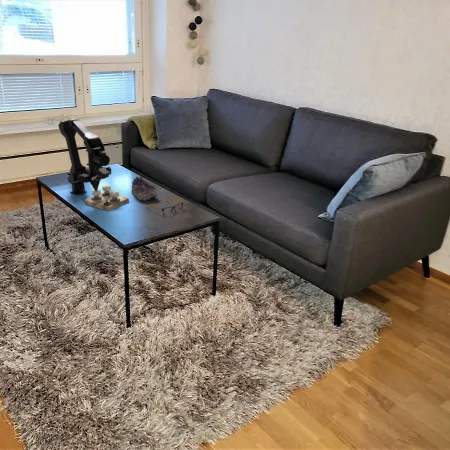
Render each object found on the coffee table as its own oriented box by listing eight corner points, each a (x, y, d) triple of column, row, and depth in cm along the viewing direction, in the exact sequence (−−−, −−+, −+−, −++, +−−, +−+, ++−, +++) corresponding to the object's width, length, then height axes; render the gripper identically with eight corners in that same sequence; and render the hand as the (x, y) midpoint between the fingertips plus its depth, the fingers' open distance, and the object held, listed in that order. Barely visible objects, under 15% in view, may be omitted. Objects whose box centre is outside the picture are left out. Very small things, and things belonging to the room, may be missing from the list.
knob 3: (108, 199, 239) (108, 192, 237) (114, 197, 242) (114, 189, 241) (115, 201, 237) (114, 194, 235) (121, 198, 240) (120, 191, 239)
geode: (123, 191, 259) (125, 174, 256) (142, 191, 265) (144, 174, 262) (139, 202, 243) (141, 183, 240) (158, 201, 250) (160, 183, 247)
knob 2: (100, 193, 246) (100, 186, 244) (106, 191, 249) (106, 184, 248) (107, 195, 244) (106, 188, 242) (113, 193, 247) (112, 186, 246)
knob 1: (90, 198, 239) (89, 190, 238) (96, 195, 243) (95, 188, 241) (96, 199, 237) (96, 192, 236) (102, 197, 241) (102, 190, 239)
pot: (103, 204, 233) (103, 197, 232) (106, 203, 235) (106, 195, 233) (107, 205, 232) (106, 198, 231) (110, 204, 234) (110, 196, 232)
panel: (84, 203, 239) (84, 199, 238) (106, 195, 252) (105, 191, 251) (108, 210, 232) (108, 206, 231) (128, 201, 245) (128, 197, 244)
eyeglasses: (163, 216, 230) (163, 209, 228) (145, 208, 239) (145, 200, 237) (184, 209, 240) (184, 202, 238) (166, 201, 249) (166, 195, 247)
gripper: (93, 168, 221) (94, 198, 228) (118, 160, 236) (119, 188, 243) (76, 164, 226) (78, 194, 232) (102, 156, 241) (103, 184, 247)
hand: (95, 190), depth 238 cm, fingers closed, pressing on knob 1
